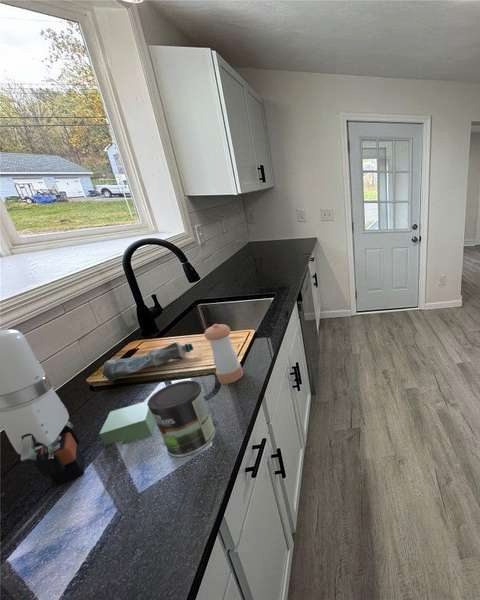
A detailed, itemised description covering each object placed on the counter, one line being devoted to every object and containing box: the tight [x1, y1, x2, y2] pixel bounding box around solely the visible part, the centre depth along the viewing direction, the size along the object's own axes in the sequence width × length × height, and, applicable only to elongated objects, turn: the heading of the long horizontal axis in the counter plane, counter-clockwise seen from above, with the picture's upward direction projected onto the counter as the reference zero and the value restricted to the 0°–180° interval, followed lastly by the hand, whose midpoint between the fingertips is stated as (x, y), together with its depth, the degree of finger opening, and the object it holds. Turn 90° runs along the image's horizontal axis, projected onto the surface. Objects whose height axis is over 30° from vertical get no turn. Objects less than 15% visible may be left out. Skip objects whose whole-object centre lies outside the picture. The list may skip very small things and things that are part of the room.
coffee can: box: [147, 380, 217, 458], centre depth 75 cm, size 10×10×14 cm
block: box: [98, 400, 156, 447], centre depth 81 cm, size 9×9×5 cm
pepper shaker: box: [204, 323, 244, 385], centre depth 98 cm, size 7×7×19 cm
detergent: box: [102, 341, 194, 383], centre depth 109 cm, size 13×7×25 cm
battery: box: [40, 432, 86, 488], centre depth 68 cm, size 4×7×10 cm, turn 43°
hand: (63, 458), depth 67 cm, fingers closed on battery, 7 cm apart
